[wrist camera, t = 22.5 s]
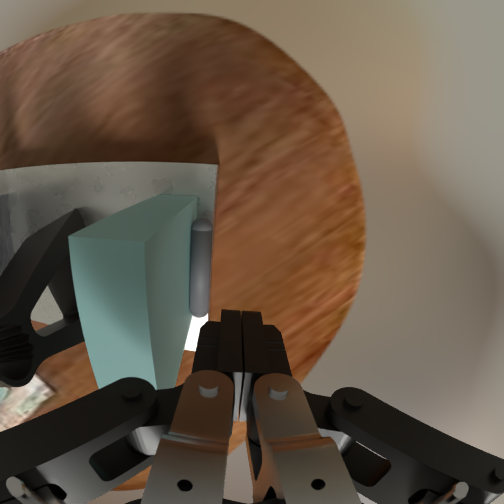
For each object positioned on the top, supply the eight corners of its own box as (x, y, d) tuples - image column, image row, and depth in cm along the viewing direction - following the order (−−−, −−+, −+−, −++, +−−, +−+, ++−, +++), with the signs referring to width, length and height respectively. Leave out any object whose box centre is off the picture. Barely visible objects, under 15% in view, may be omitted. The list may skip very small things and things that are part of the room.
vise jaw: (210, 315, 19) (193, 433, 9) (158, 309, 19) (109, 418, 9) (217, 198, 16) (189, 246, 7) (158, 194, 16) (68, 235, 7)
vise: (209, 337, 22) (192, 464, 11) (22, 304, 20) (-47, 370, 9) (219, 164, 18) (187, 165, 7) (7, 169, 16) (-93, 191, 5)
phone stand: (29, 236, 17) (-81, 299, 5) (79, 207, 16) (-58, 268, 5) (76, 333, 19) (6, 434, 8) (129, 319, 19) (60, 446, 8)
